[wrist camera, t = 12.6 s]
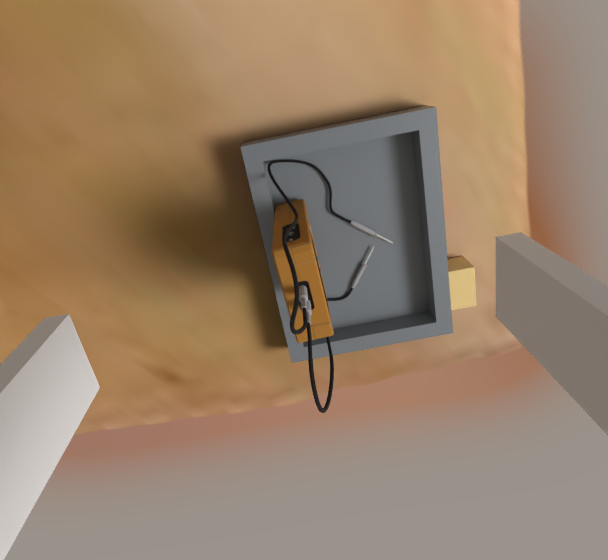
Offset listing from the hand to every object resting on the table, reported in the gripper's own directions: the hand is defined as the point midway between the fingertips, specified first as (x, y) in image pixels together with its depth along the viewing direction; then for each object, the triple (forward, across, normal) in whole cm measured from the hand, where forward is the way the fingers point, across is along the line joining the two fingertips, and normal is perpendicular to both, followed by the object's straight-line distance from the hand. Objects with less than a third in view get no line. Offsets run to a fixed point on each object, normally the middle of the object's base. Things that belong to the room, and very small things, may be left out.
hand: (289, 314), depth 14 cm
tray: (+29, +7, -8) cm, 31 cm away
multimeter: (+29, +4, -7) cm, 30 cm away
